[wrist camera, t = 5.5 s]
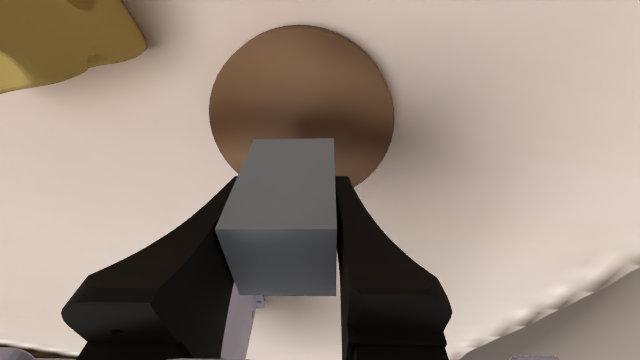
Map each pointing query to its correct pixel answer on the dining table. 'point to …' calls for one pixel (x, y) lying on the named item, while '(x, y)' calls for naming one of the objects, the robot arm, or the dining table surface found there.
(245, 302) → the robot arm
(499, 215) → the dining table surface
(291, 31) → the disc
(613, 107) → the dining table surface
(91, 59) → the cheese
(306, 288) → the block
